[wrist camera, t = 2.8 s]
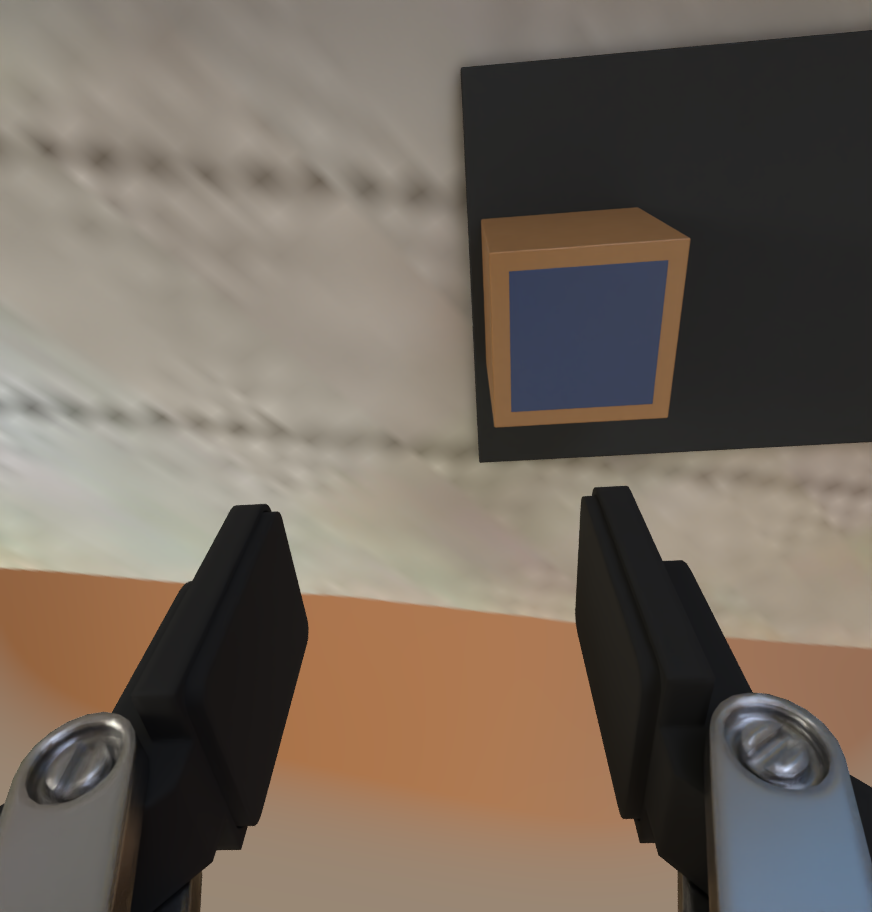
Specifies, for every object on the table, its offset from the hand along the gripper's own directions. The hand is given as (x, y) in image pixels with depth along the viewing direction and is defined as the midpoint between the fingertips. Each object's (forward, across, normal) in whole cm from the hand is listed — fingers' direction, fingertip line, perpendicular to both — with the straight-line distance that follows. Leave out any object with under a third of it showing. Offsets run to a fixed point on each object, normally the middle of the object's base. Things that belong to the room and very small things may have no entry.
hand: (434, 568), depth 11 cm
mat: (+17, -14, 0) cm, 22 cm away
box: (+17, -5, 0) cm, 17 cm away
